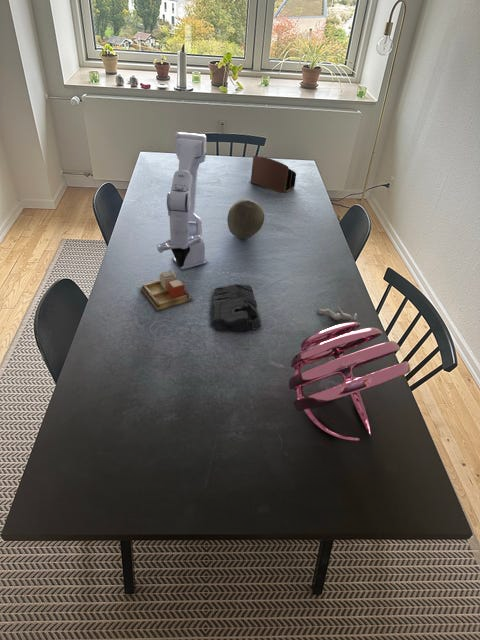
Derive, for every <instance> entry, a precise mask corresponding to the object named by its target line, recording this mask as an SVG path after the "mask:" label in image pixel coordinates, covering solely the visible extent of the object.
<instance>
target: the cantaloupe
mask: <svg viewBox="0 0 480 640" xmlns="http://www.w3.org/2000/svg"><path fill="white" fill-rule="evenodd" d="M226 220H227V221H226V223H227V227H228V230H229V232H230V234H231V235H233V236H234V237H235V238H237V239H249V238H251V237H253V236H255V235H256V234H257V233H258V232H259V231H260V230H261V229H262V227H263V225H264V222H265V212H264V210H263V208H262V206H261V205H260V204H259V203H258V202H256V201H254V200H252V199H249V198H243V199H239V200H238V201H236V202H234V203H233V205H232V206H231V207H230V208H229V210H228V213H227V218H226Z"/></svg>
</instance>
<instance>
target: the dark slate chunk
mask: <svg viewBox="0 0 480 640" xmlns="http://www.w3.org/2000/svg"><path fill="white" fill-rule="evenodd" d="M211 306H212V307H211V319H210V321H211V322H210V323H211V326H212V327H215V328H216V329H215V330H216V331H221V332H226V331H229V332H230V331H231V332H247V331H252V330H255V329H260V328H261V326H262V321H261V318H260V314H259V310H258V304H257V300H256V297H255V294H254V289H253V286H251V284H249V285H248V284H239V283H235V284H228V285H224V286H219V287H215V288H214V291H213V297H212V305H211ZM251 319H254V320H251Z"/></svg>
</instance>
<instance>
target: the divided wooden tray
mask: <svg viewBox="0 0 480 640" xmlns="http://www.w3.org/2000/svg"><path fill="white" fill-rule="evenodd" d="M140 290H141V291H142V293H143V294H144V295H145V297H146V298H147V299H148V301H149V302H150V303H151V304H152V306H153V307H154V309H155V310H156V311H157V312H158V311H161V310H164V309H168V308H171V307H174V306H178V305H181V304H184V303H187V302H190V301H191V300H192V299H191V297H190V294H189V293H188V292H187V291H186V289H184V292H185V295H183V296H180V297H176V298H173V299H172V298H171V296H170V295H169V294H168V288H166V289H164V288H163V286H162V285H161V283H160V279H158V280H154V281H151V282H148V283H143V284H142V285H141V287H140Z"/></svg>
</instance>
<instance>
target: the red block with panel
mask: <svg viewBox="0 0 480 640" xmlns="http://www.w3.org/2000/svg"><path fill="white" fill-rule="evenodd" d="M184 290H185V284H183V282H182V281H181V280H180V279H176V280H174V281H171V282H168V294H169V295H170V296H171V298H172V299H173V298H176V297H180V296H183V295H185V292H184Z"/></svg>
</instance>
